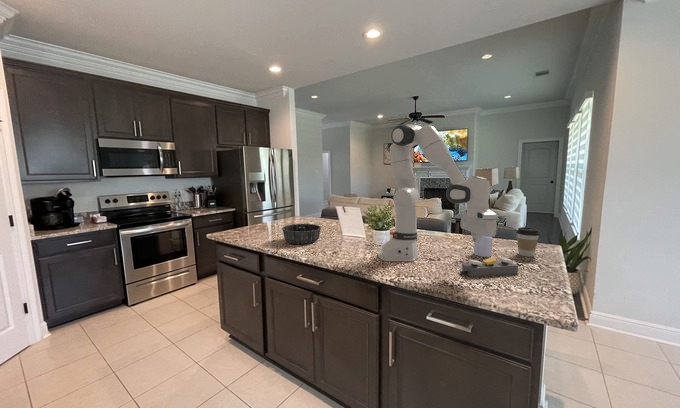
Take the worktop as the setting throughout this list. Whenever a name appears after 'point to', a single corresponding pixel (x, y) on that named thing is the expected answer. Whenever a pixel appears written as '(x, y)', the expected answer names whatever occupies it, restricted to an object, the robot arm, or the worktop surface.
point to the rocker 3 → (505, 260)
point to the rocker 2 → (489, 261)
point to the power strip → (489, 269)
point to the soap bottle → (483, 247)
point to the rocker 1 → (475, 262)
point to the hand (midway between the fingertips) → (476, 242)
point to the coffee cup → (527, 241)
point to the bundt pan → (301, 233)
